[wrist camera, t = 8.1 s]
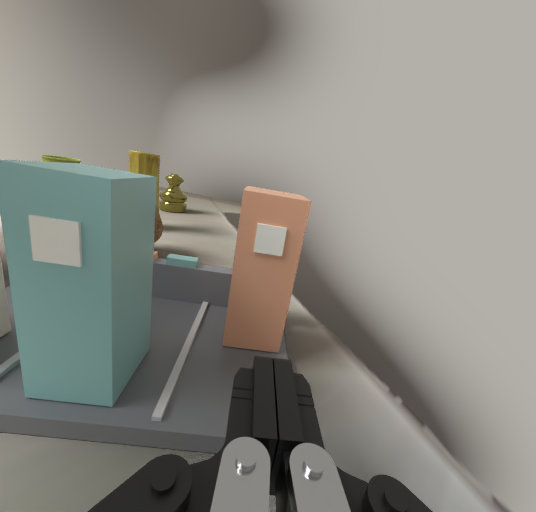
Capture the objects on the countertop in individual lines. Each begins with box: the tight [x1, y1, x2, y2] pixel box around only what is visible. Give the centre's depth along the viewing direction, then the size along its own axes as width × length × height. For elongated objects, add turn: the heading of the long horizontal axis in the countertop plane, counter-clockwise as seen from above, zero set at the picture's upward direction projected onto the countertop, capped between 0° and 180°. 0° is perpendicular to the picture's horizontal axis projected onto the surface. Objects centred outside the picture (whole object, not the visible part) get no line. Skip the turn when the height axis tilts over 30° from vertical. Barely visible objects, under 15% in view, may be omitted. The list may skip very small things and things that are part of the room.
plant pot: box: [41, 155, 81, 163], centre depth 79 cm, size 9×9×9 cm
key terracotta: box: [222, 186, 311, 353], centre depth 21 cm, size 5×4×12 cm
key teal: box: [0, 160, 157, 407], centre depth 15 cm, size 5×4×12 cm
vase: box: [129, 150, 160, 212], centre depth 52 cm, size 6×6×14 cm
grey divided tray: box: [0, 251, 288, 453], centre depth 20 cm, size 15×25×6 cm, turn 91°
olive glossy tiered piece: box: [159, 174, 187, 213], centre depth 74 cm, size 7×7×10 cm
